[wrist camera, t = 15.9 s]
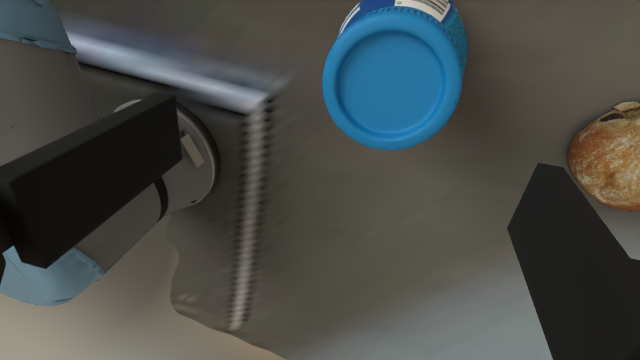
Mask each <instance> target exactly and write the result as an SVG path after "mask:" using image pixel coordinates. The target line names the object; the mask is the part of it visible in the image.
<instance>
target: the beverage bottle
mask: <svg viewBox="0 0 640 360" xmlns="http://www.w3.org/2000/svg"><path fill="white" fill-rule="evenodd" d="M467 55H468V44H467V36H466V32H465V28H464V24H463V21H462V18H461V16H460V13H459V11H458V10H457V8H456V6H455V5H454V4H453V2H452V1H451V0H362V1H361V2H360V3H359V4H358V5H357V6H356V7H355V8H354V9H353V10H352V11H351V12H350V13H349V15H348V16H347V18H346V19H345V21H344V23H343V24H342V26H341V29H340V31H339V34H338V36H337V40H336V42H335V43H334V44H333V47H332V48H331V49H330V53H329V54H328V55H327V56H328V57H327V59H326V63H325V66H324V71H323V79H322V87H323V96H324V100H325V104H326V106H327V109H328V111H329V113H330V115H331V117H332V119H333V120H334V122H335V123H336V124H337V126H338V127H339V128H340V129H341V130H342V131H343V132H344V133H345V134H346V135H348V136H349V137H350V138H352V139H353V140H355V141H357V142H359V143H361V144H363V145H365V146H368V147H371V148H375V149H381V150H399V149H405V148H409V147H412V146H415V145H418V144H420V143H422V142H424V141H426V140H427V139H429V138H431V137H432V136H433V135H435V134H436V133H437V132H438V131H439V130H440V129H441V128H442V127H443V126H444V125H445V124H446V123H447V121H448V120H449V119H450V117H451V116H452V114H453V112H454V111H455V108H456V106H457V105H458V101H459V99H460V94H461V93H462V92H461V88H462V87H463V86H462V82H463V77H462V76H463V73H464V70H465V67H466V62H467Z"/></svg>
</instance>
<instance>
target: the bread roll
mask: <svg viewBox="0 0 640 360" xmlns="http://www.w3.org/2000/svg"><path fill="white" fill-rule="evenodd" d="M568 166H569V168H570V170H571V173H572V174H573V176H574V177H575V178H576V180H577V181H578V182H579V183H580V185H581V186H582V187H583V188H584V189H585V190H586V191H587V192H588V194H589V195H591V196H592V197H593V198H595V199H596V200H597V201H598V202H600V203H601V204H604V205H607V206H608V207H613V208H617V209H620V210H627V211H640V104H639V103H637V102H635V101H629V102H624V103H621V104H619V105H617V106H615V107H614V110H613V111H611V112H609V113H607V114H605V115H603V116H601V117H600V118H598V119H596V120H595V121H594V122H593V123H591V124H589V125H588V126H587V127H586V128H584V129H583V130H582V131H580V132H579V133H578V134H577V135H576V136H575V138H574V140H573V142H572V144H571V146H570V149H569V153H568Z"/></svg>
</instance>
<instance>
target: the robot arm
mask: <svg viewBox="0 0 640 360" xmlns="http://www.w3.org/2000/svg"><path fill="white" fill-rule="evenodd" d="M75 54H77V51H76V48H74V47H73V46H72V45H71V43H70V41H69V39H68V36H67V34H66V32H65V29H64V27H63V25H62V22H61V20H60V18H59V15H58V13H57V11H56V9H55V7H54V6H53V5H52V3H51V2H50V1H49V0H0V293H2V294H5V295H7V296H9V297H12V298H14V299H17V300H20V301H23V302H26V303H30V304H34V305H40V306H55V305H60V304H64V303H66V302H69V301H71V300H72V299H74V298H75V297H77V296H78V295H79V294H80V293H81V292H83V291H84V290H85V289H86V288H87V287H89V286H90V285H91V284H92V283H93V282H94V281H97V280H99V279H101V278H102V276H103V275H104V274H105V273H106V272H107V271H108V270H109V269H110V268H111V267H112V266H113V265H114V264H115V263H116V262H117V261H118V260H119V259H120V258H121V257H122V256H123V255H124V254H125V253H126V252H127V251H128V250H129V249H130V248H132V246H134V245H135V244H136V242H137V241H139V240H140V239H141V238H142V237H143V236H144V235H145V234H146V233H147V232H148V231H149V230H150V229H151V228H152V227H153V226H154V225H155V224H156V223H157V222H158V221H159V220H161V219H162V218H163V217H164V216H167V215H169V214H172V213H174V212H176V211H178V210H180V209H182V208H186V207H189V206H192V205H194V204H196V203H198V202H200V201H201V200H202V199H203V198H204V197H205V196H206V195H207V194H208V193H209V192H210V191H211V190H212V189H213V188H214V186H215V184H216V182H217V180H218V177H219V171H220V162H219V155H218V152H217V148H216V146H215V143H214V141H213V139H212V137H211V135H210V134H209V132H208V131H207V129H206V128H205V127H204V125H203V124H202V123H201V122H200V121H199V120H198V118H196V117H195V116H194V115H193V114H192V113H191V112H190V111H188V110H187V109H186V108H184V107H183V106H181V105H179V104H177V103H176V98H175V96H173V95H168V94H162V93H155V94H153V95H151V96H144V97H139V98H136V99H134V100H132V101H129V102H127V103H125V104H123V105H121V106H119V107H118V108H117V109H116V110H115V111H114V112H113V113H112V114H110V115H108V116H106V117H104V118H102V119H100V120H99V118H98V115H97V112H96V110H95V107H94V104H93V102H92V99H91V96H90V94H89V91H88V88H87V85H86V83H85V80H84V77H83V75H82V72H81V69H80V67H79V64H78V61H77V59H76V56H75ZM507 229H508V232H509V235H510V238H511V240H512V243H513V246H514V249H515V252H516V255H517V258H518V260H519V263H520V266H521V269H522V272H523V275H524V278H525V280H526V283H527V286H528V289H529V292H530V295H531V298H532V300H533V303H534V306H535V309H536V312H537V315H538V318H539V320H540V323H541V326H542V329H543V332H544V335H545V338H546V341H547V343H548V346H549V349H550V352H551V355H552V358H553V360H640V260H635V259H631V258H630V257H629V256H628V255H627V253H626V252H625V251H624V249H623V248H622V247H621V245H620V244H619V243H618V241H617V240H616V238H615V237H614V236H613V234H612V233H611V232H610V230H609V229H608V228H607V226H606V225H605V224H604V222H603V221H602V220H601V218H600V217H599V215H598V214H597V213H596V211H595V210H594V209H593V207H592V206H591V205H590V203H589V202H588V201H587V199H586V198H585V197H584V195H583V194H582V193H581V191H580V190H579V188H578V187H577V186H576V184H575V183H574V182H573V180H572V179H571V178H570V176H569V175H568V174H567V172H566V171H565V170H564V168H563V167H558V166H553V165H547V164H542V163H538V164H537V166H536V168H535V170H534V173H533V175H532V177H531V179H530V181H529V183H528V185H527V187H526V189H525V191H524V194H523V196H522V198H521V200H520V202H519V204H518V206H517V208H516V210H515V213H514V215H513V217H512V219H511V221H510V223H509V225H508V227H507Z"/></svg>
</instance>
